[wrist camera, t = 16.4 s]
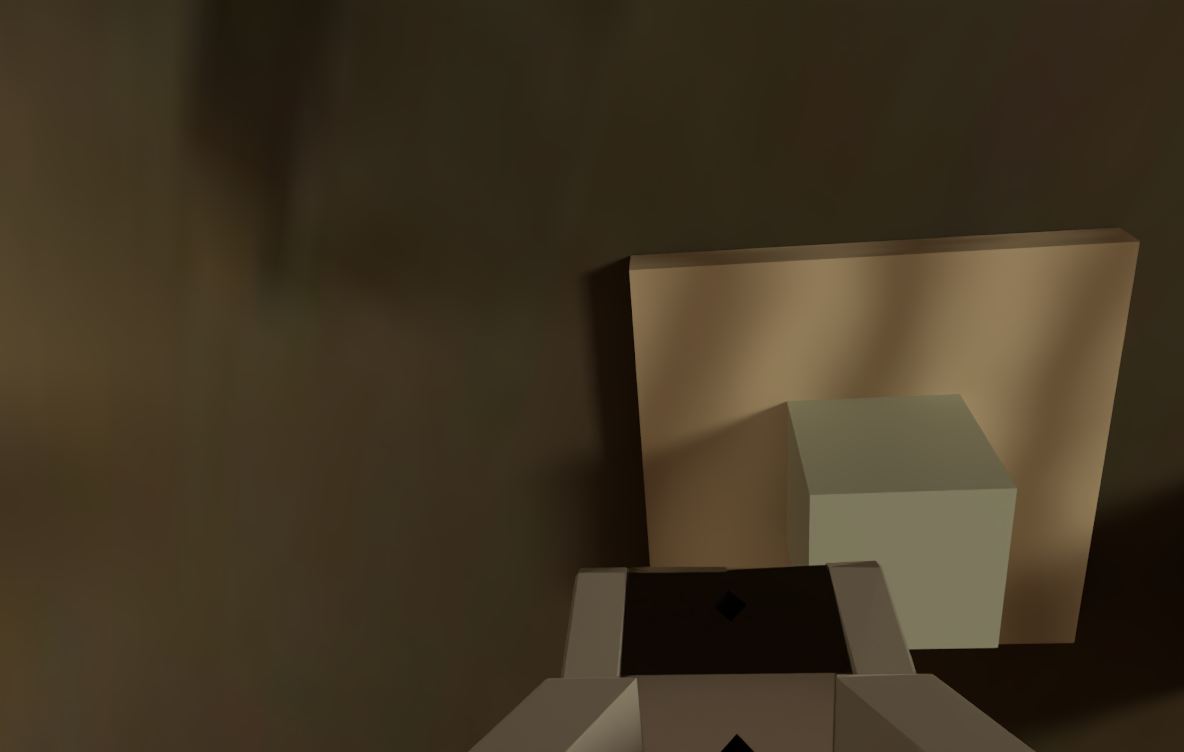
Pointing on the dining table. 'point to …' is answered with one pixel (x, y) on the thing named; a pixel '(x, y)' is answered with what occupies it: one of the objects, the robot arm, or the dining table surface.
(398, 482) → the dining table surface
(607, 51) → the dining table surface
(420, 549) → the dining table surface
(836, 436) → the sage green cube
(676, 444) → the post board
